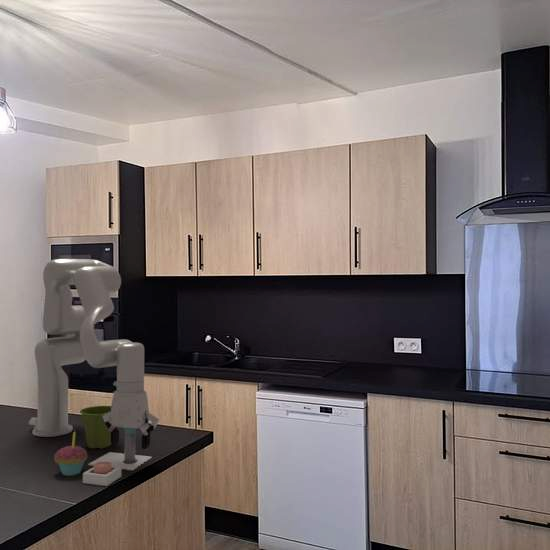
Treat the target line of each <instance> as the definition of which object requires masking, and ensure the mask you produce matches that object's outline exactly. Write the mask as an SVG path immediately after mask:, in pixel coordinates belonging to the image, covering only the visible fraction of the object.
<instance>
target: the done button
mask: <svg viewBox="0 0 550 550" xmlns="http://www.w3.org/2000/svg"><path fill="white" fill-rule="evenodd" d="M93 467H94V473H96V474H104V475H106V474H108V473H109V472H111V463H110V462H98V463H95V464H94V466H93Z"/></svg>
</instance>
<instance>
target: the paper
mask: <svg viewBox="0 0 550 550" xmlns="http://www.w3.org/2000/svg"><path fill="white" fill-rule="evenodd" d="M151 459H153V457H152V456H148V455H140V454H138V455H137V454H135V462H132V463H125V462H124V453H121V452H112V451H109V452H107V453H105V454H104V455H102V456H100V457H98V458H96V459H95V460H93V461H91V462H89V463H88V464H87V466H91V467H94V464H95V463H98V462H110V463H111V466H116V467H122V468H121V470H125V469H126V471H134V470H135V469H138V468H139V467H140V466H141V464H142V465H143V464H145V463H147V461H150V460H151ZM144 462H145V463H144ZM138 466H139V467H138Z"/></svg>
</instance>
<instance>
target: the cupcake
mask: <svg viewBox="0 0 550 550" xmlns="http://www.w3.org/2000/svg"><path fill="white" fill-rule="evenodd" d="M73 430H74V432H73V433H72V442H71V445H65V446H63V447H62V448H59V449H58V450H57V451H56V452H55V453H54V455H53V457H54V458H53V459H54V462H55V464H58V465H59V468H60V471H61V475H63V476H67V477H68V476H69V477H70V476H76V475H79V474H80V473H81V472H82V468H83V466H84V463H85V461H86V460H87V459H88V452H87V449H85V447H82V446H80V445H76V444H75V443H76V429H73Z"/></svg>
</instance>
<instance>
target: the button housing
mask: <svg viewBox="0 0 550 550" xmlns="http://www.w3.org/2000/svg"><path fill="white" fill-rule="evenodd" d="M121 468H122V467H116V466H111V472H109V473H108V474H106V475H104V474H96V473H94V466H92V468H91V467H90V468H89V469H88V470H86V471H84V472H82V483H83V484H87V485H88V484H89V485H96V486H103V487H104V486H105V487H107V486H110V485H111V484H112V483H113V482H115V481H116V480H119V478H122V469H121Z"/></svg>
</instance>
